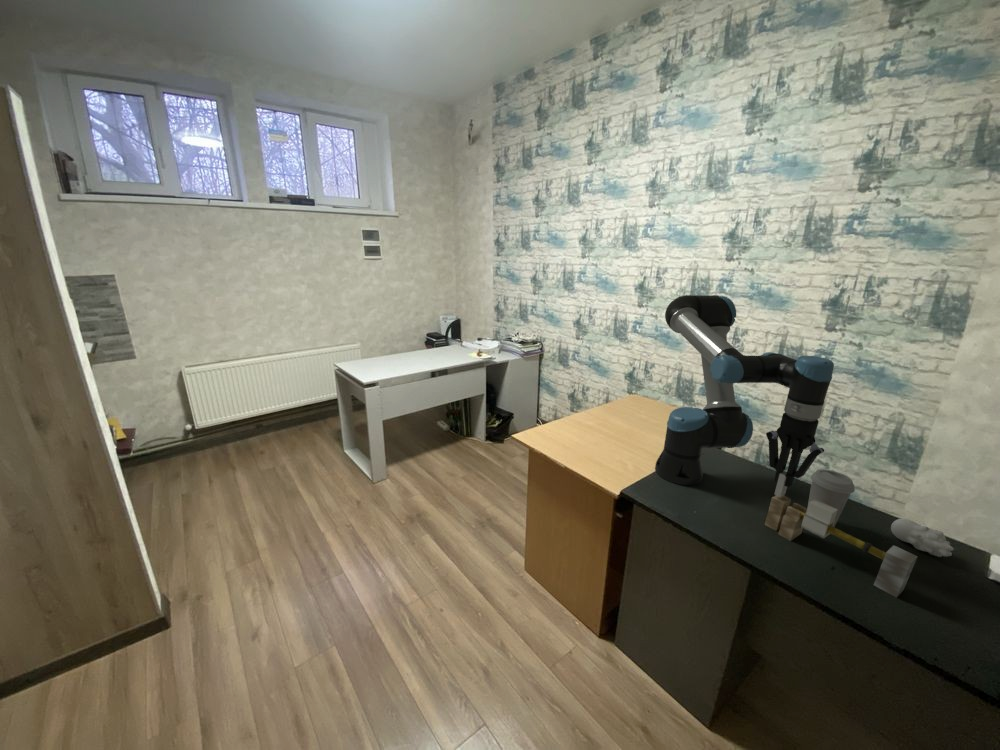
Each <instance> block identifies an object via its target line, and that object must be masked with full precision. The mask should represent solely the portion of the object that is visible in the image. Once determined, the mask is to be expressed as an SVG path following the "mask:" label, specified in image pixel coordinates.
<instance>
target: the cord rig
mask: <svg viewBox="0 0 1000 750" xmlns="http://www.w3.org/2000/svg"><path fill="white" fill-rule="evenodd" d="M791 502H792V498H790V497H787V496H786V495H783V496H781V497H779V496H777V495H774V496H772V497H771V500H770V504H769V507H768V511H767V514H766V517H765V522H764V525H765V526H766V527H768V528H770V529H772V530H774V531H775V532H777V531H778V535H779V536H780V537H782V538H784V539H786V540H788V541H790V542H791V541H793V540H794V539H796V538H798V536H800V535H801V534H802V532H803V530H804V528H802V527H801V525H802V522H803V518H804V515H805V513H806V511H807V507H806V506H803V505H802V504H800V503H797V502H793V503H792V506H790V504H791ZM827 532H828V533H830V534H829V535H833V536H834V537H836V538H838V539H840V540H843V541H845V542H846V543H848V544H850V545H853V546H854V547H857V548H859V549H860V550H861V551H862V552H863V553H866V554H867V555H868V554H871V555H873V556H875V557H877V558H879V559H880V560H882V562H881V564H880V568H879V570H878V571H877V572H878V573H877V576H876V578H875V580H874V583H873V586H875V588H878V589H880V590H882V591H883V592H885V593H886V594H889V595H890V596H893V597H894V598H896V599H897V598H898V597H899V596H900V595H901V594H902V592H903V591H904V590H905V588H906V585H907V583H908V580H909V577H910V576H911V573H912V571H913V568H914V566H915V565H916V562H917V559H918V555H916V554H913V553H911V552H909V551H907V550H905V549H903V548H900V547H899V546H896V545H892V546H891V547H890V548H889V549H888V550H887V551H886V552H885V551H884V550H881V549H879V548H877V547H875V546H873V544H872V543H870V542H868V541H864V540H863V541H862V540H861V539H859V538H856V537H854V536H853V535H851V534H849V533H847V532H845V531H842V530H841V529H838V528H836V527H832V526H830V525H829V526H828V529H827Z"/></svg>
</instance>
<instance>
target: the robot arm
mask: <svg viewBox="0 0 1000 750" xmlns="http://www.w3.org/2000/svg"><path fill="white" fill-rule="evenodd" d="M664 317H665V318H664V319H665V322H666V325H668V327H669V329H670V330H672V331H673V332H674V333H676V334H680V335H681V336H682V337H683V338H684V339H685V340H686V341H687V342H688V343H689V344H690V345H691V346H692V347H693V348H694V349H695V350H696V351H697V352H698V353H699V354H700V357H701V364H702V374H703V380H704V388H705V390H704V391H705V397H706V399H705V400H706V405H705V406H704V407H703V408H698V407H693V406H683V407H678V408H675V409H673V410H672V411H671V412H670V413H669V416H668V420H667V422H666V426H667V427H666V432H665V439H664V445H663V449H662V451H661V453H660V454H659V456H658V458H657V460H656V462H655V466H654V470H655V472H656V474H657V475H658V476H659V477H661V479H664V480H666V481H668V482H670V483H673V484H677V485H680V486H681V485H683V486H695V485H698V484H700V483H701V482H702V481H703V476H704V471H703V465H702V459H701V456H702V451H703V449H721V448H723V449H733V448H740V447H741V448H742V447H744V446H745V445H747V444H748V443H749V442H750V440H751V438H752V436H753V432H754V425H753V420H752V418H750V416H749V415H748V414H747V413H745V412H743V409H742V405H740V404H739V403H737V401H736V397H735V396H736V395H735V389H734V384H750V383H752V384H753V383H754V384H759V383H760V384H761V383H762V384H767V383H768V384H771V383H772V384H773V383H774V384H778V385H781V386H783V387H785V388H787V389H788V393H787V398H786V400H785V405H784V409H783V411H784V413H783V412H782V416H781V421H780V424H779V427H778V428H777V429H776V430H771V431H768V432H766V433H765V435H766V438H767V441H768V460H769V461H768V462H769V467H771V468H773V469H774V470H775V475H774V478H773V480H774V482H776V486H775V490H774V496H776V495H777V496H779V497H781V496H783V495H784V496H786V492H787V489H788V488H789V487H791V486H792V485H793V482H794V479H795V478H796V479H801V477H804V476H805V474H806V473H807V471H809V468H810V467H811V466H812V464H813V463H814V461H815V460H816V459H817V457H818V456H819V455H821V454H822V453H824V452H825V449H824V448H823V447H819V446H818V445H817V444H816V438H815V435H816V433H817V429H818V426H819V419H820V418H821V415H822V412H823V407H824V404H825V400H826V396H827V394H828V390H829V387H830V383H831V381H832V379H833V373H834V367H835V364H834V362H833V361H832V360H830V359H829V358H826V357H820V356H814V355H800V356H799V357H797V359H796V358H792V357H789V356H787V355H785V354H782V353H776V352H771V351H770V352H765V353H763V354H761V355H744V354H742V353H741V351H738V349H736V347H734V346H733V345H732V344H731V343H729V342H728V339H727V335H728V333H730V331H731V327H732V326H733V325H734V323H735V322H736V319H735V318H737V308H736V305H735V303H734V302H733V300H732V299H730V297H727V296H726V295H725V296H724V295H717V294H713V295H700V294H699V295H692V294H689V295H688V294H687V295H680V296H678V297H676V298H674V299H673V300H672V301H671V302H669V304H668V306H667V307H666V310H665V313H664ZM779 441H780V443H781V446H780V452H779ZM807 448H810V449H809V454H808V455H807V456H806V457H805V459H804V460H803V462H802V463H801V465H800V466H799V463H800V460H801V457H802V453H803V452H804V450H805V449H807ZM779 453H780V454H779ZM790 453H791V456H790ZM789 457H790V459H789ZM788 461H789V462H788ZM787 464H788V466H787Z"/></svg>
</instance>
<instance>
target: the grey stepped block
mask: <svg viewBox="0 0 1000 750" xmlns="http://www.w3.org/2000/svg"><path fill="white" fill-rule="evenodd" d="M807 507H808V508H807ZM807 507H806V508H807V511H806V513H805V515H804V518H803V522H802V525H801V527H802V528H803V530H806V531H808V532H810V533H812V534H813V535H816V536H818V537H819V538H822V539H825V538H826V537H828V536H829V535H831V534H830V533H828V532H827V529H828V526H829V525H830V526H832V527H833V525H834V522H835V517H836V514H837V511H838V509H836V508H833V507H831V506H829V505H827V504H825V503H822V502H820V501H818V500H816V499H814V500H812V501H811V502H809V505H808V504H807Z"/></svg>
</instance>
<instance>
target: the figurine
mask: <svg viewBox="0 0 1000 750" xmlns="http://www.w3.org/2000/svg"><path fill="white" fill-rule="evenodd" d="M890 531H891V533H892V534H893V535H894V537H896V538H897V539H899V540H901V541H902V542H904V543H909V544H911V545H912V546H913V548H915V549H916V550H918V551H922V552H927V553H928V554H929V555H931V556H934V557H938V558H941V557H952V555H953V554H952V553H953V551H954V550H955V549H954V547H953V546H951V542H950V541H948V540H947V537H946V535H944V532H943V531H942V530H938V529H934V528H931V527H928V526H926V525H921V524H919V523H917V522H916V521H914V520H911V519H907V518H898V519H895V520H894V521H893V522H892V524H891V525H890Z"/></svg>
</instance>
